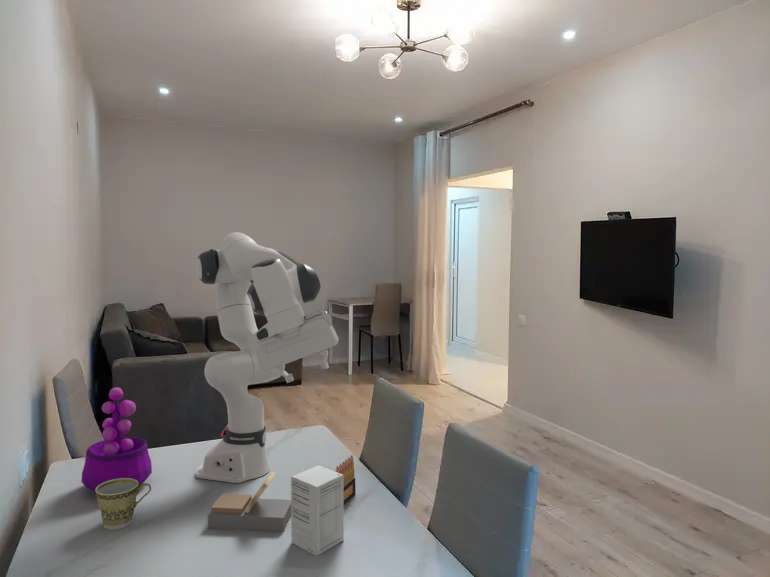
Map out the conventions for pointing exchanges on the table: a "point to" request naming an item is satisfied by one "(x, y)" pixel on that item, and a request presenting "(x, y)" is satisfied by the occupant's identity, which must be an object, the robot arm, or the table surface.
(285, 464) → the table surface
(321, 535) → the supplement box
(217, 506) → the floor base
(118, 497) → the ceramic cup
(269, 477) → the oak plank
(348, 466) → the ammunition clip
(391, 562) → the table surface
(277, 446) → the table surface
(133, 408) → the decorative plant
